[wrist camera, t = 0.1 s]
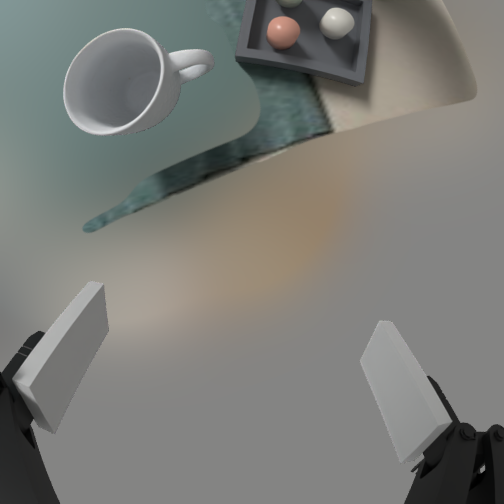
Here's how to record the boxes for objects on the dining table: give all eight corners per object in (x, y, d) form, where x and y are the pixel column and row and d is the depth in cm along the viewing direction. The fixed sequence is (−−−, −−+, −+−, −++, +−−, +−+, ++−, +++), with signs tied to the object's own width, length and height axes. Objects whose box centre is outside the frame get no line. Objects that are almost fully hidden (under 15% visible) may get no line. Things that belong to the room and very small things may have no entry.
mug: (207, 35, 30) (191, -5, 18) (230, 108, 34) (222, 94, 22) (106, 76, 31) (54, 61, 19) (125, 145, 35) (76, 154, 23)
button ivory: (320, 13, 27) (326, 4, 24) (347, 20, 27) (355, 12, 24) (317, 35, 28) (323, 27, 25) (344, 42, 28) (353, 35, 25)
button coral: (268, 23, 28) (270, 14, 25) (297, 28, 28) (301, 19, 25) (264, 47, 29) (265, 39, 26) (293, 52, 29) (297, 45, 26)
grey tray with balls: (252, -21, 26) (253, -31, 24) (364, 5, 28) (372, -2, 25) (235, 61, 32) (235, 55, 29) (355, 86, 33) (363, 83, 30)
